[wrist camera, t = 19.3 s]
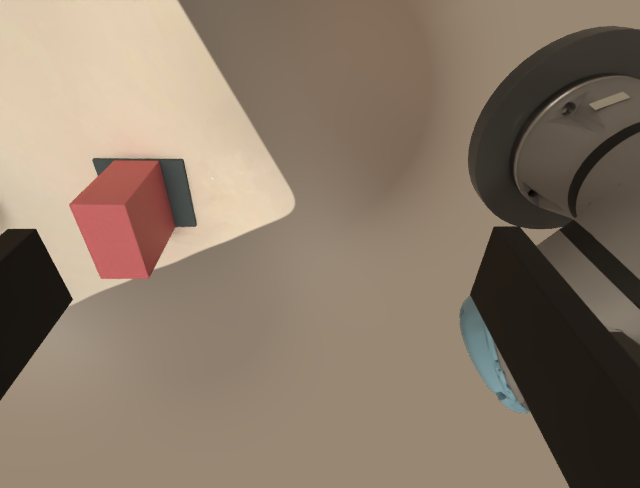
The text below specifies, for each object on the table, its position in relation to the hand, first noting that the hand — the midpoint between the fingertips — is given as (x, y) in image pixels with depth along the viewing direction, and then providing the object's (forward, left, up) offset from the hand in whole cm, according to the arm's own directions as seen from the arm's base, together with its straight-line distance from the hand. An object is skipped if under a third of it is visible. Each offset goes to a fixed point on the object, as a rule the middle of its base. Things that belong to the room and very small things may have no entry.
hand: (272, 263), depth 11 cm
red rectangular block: (+18, +15, -31) cm, 39 cm away
